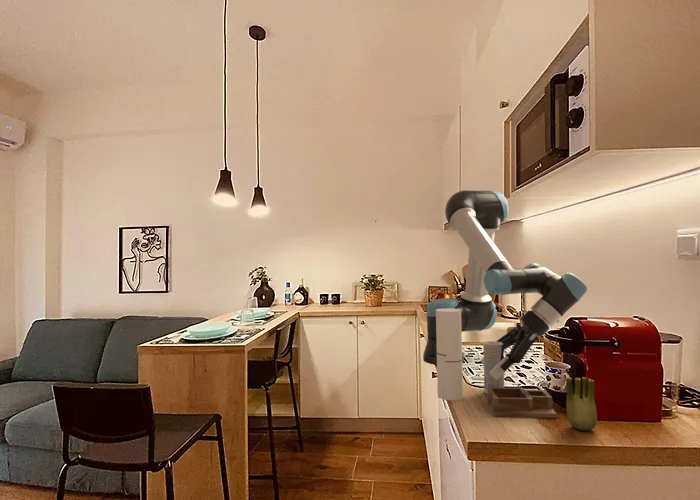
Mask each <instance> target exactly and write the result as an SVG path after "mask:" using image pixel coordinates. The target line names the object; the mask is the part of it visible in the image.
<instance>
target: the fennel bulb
mask: <svg viewBox="0 0 700 500" xmlns="http://www.w3.org/2000/svg"><path fill="white" fill-rule="evenodd" d="M565 382H566V402H565V403H566V405H565V408H566V415H567V420H568V421H569V425H570V426H571V427H573V428H574V429H577V430H579V431H582V432H590V431H592V430H593V429H595V428H596V425H597V423H598V414H597V413H598V412H597V406H596V402H595V380H593V379H591V378H587V377H584V376H582V377H581V378H580V377H575V378H574V386H573V379H572V377H566V378H565ZM573 387H574V388H573Z"/></svg>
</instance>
